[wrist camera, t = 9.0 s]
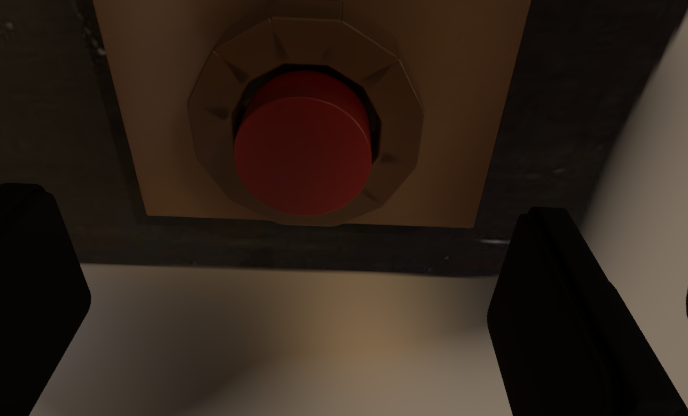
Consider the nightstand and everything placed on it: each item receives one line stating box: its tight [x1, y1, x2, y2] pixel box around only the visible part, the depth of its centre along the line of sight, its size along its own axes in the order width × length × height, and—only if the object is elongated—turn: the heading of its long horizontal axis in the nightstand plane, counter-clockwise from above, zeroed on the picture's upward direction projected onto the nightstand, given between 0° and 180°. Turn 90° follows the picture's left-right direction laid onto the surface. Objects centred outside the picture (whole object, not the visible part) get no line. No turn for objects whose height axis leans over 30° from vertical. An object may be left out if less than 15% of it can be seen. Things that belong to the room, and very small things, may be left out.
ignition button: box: [233, 70, 372, 216], centre depth 13 cm, size 4×4×2 cm
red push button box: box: [93, 0, 531, 228], centre depth 15 cm, size 12×9×4 cm
